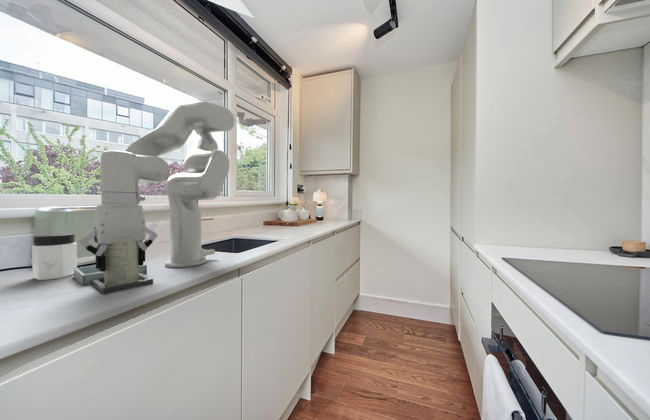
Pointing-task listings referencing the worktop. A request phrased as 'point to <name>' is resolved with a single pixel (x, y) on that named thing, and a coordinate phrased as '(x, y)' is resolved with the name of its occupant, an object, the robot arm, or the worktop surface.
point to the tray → (95, 273)
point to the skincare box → (121, 263)
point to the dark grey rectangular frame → (104, 289)
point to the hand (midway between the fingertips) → (121, 267)
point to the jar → (54, 255)
